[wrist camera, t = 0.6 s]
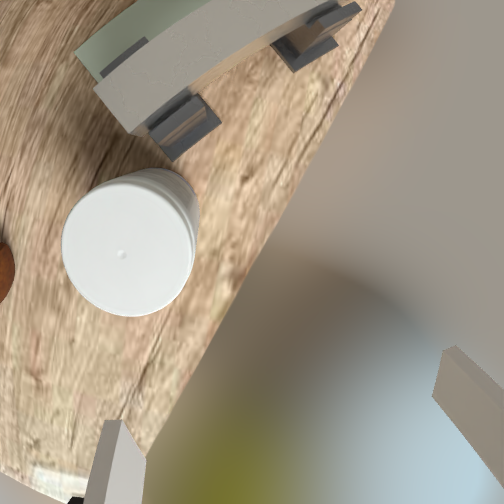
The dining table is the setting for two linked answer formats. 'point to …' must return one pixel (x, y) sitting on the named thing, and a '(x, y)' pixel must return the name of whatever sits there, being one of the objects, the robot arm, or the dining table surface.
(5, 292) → the potato
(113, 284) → the supplement tub
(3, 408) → the dining table surface
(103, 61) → the mat
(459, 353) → the robot arm
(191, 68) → the rail
